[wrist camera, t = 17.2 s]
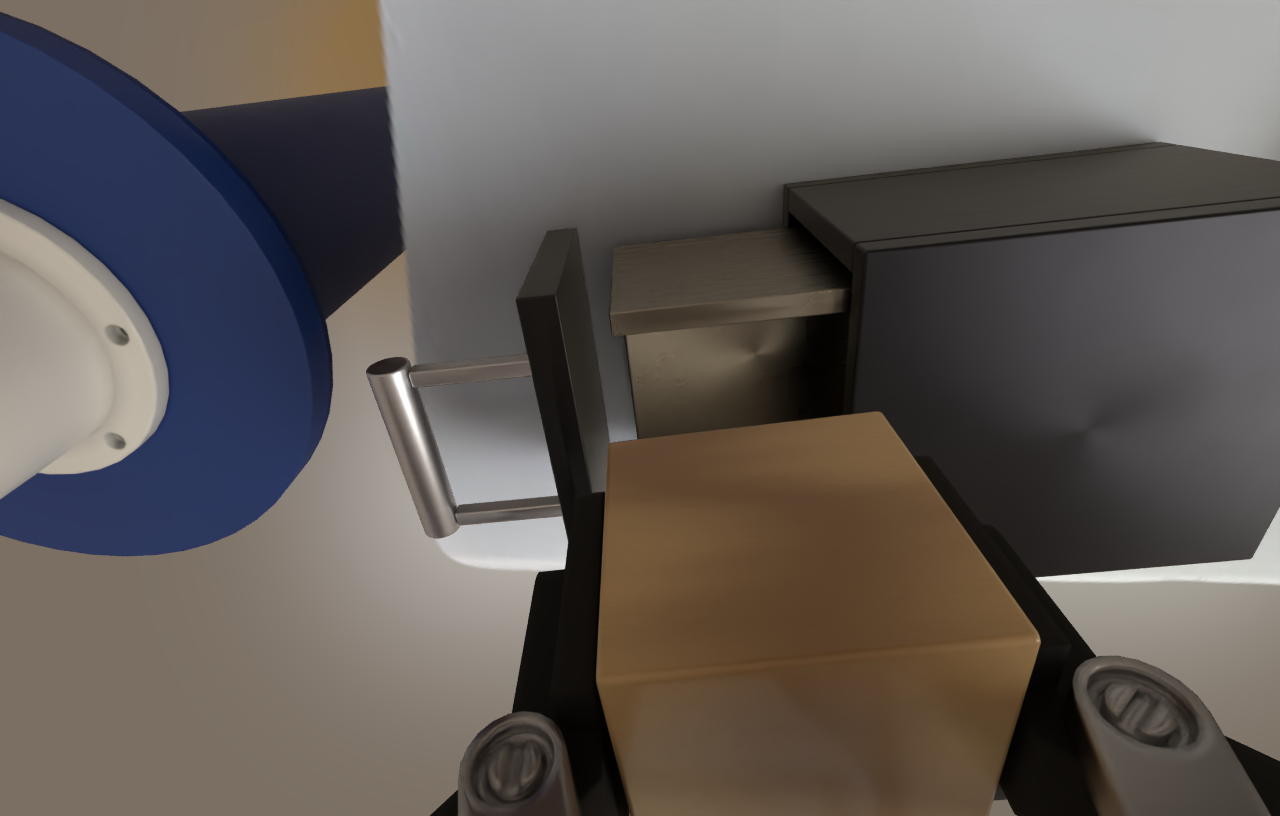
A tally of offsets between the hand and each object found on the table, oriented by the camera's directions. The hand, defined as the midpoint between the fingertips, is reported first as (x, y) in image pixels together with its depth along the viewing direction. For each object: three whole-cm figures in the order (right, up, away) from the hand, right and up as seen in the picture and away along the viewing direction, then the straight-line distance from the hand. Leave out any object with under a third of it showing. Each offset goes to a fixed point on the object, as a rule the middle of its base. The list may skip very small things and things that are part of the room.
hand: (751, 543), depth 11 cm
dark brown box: (+12, +7, +16) cm, 21 cm away
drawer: (-1, +5, +16) cm, 17 cm away
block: (0, 0, 0) cm, 0 cm away
